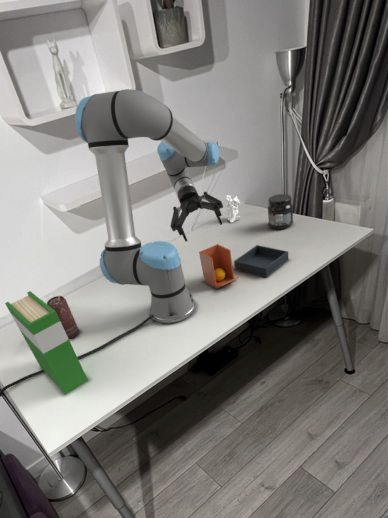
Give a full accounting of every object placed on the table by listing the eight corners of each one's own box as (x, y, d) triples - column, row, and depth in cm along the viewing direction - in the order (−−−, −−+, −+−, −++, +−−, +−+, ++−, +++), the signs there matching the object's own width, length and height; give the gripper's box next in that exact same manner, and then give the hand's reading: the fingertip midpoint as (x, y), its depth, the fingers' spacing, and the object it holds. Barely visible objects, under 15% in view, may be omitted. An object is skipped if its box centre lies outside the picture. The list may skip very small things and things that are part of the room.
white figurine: (233, 224, 185) (229, 198, 178) (222, 222, 190) (218, 196, 182) (244, 217, 190) (242, 191, 182) (233, 215, 194) (230, 190, 186)
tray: (266, 277, 143) (265, 268, 140) (235, 269, 151) (234, 261, 149) (288, 260, 150) (288, 251, 148) (257, 253, 158) (256, 245, 156)
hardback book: (41, 368, 124) (4, 303, 109) (62, 356, 127) (30, 291, 112) (65, 394, 112) (28, 325, 98) (88, 380, 115) (55, 311, 101)
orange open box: (204, 281, 148) (199, 252, 141) (222, 273, 151) (217, 243, 143) (222, 292, 140) (217, 261, 133) (240, 283, 142) (236, 252, 135)
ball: (220, 285, 144) (219, 274, 141) (210, 280, 146) (209, 270, 143) (228, 278, 146) (227, 268, 143) (218, 274, 148) (217, 264, 145)
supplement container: (284, 218, 180) (283, 191, 173) (298, 225, 172) (297, 197, 165) (264, 225, 178) (262, 198, 171) (277, 232, 170) (275, 204, 163)
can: (82, 328, 138) (67, 293, 129) (76, 340, 133) (60, 304, 124) (66, 330, 139) (50, 295, 130) (59, 341, 134) (42, 306, 126)
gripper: (219, 186, 154) (237, 222, 143) (161, 215, 157) (174, 252, 146) (214, 170, 148) (232, 206, 137) (153, 201, 151) (167, 238, 140)
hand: (202, 230), depth 141 cm, fingers open, 13 cm apart
